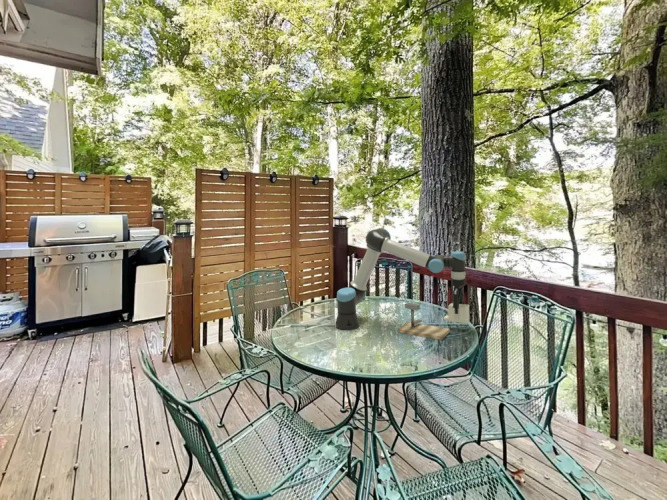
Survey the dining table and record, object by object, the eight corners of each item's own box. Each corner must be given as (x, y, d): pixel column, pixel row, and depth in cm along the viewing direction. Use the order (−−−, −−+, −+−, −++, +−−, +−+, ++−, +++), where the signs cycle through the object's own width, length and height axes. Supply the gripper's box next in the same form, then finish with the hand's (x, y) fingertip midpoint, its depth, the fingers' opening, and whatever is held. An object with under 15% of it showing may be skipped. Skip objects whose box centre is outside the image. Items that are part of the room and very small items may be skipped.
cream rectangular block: (443, 320, 199) (443, 305, 198) (446, 316, 204) (446, 302, 203) (466, 323, 191) (466, 307, 190) (469, 319, 197) (469, 304, 196)
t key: (416, 328, 196) (416, 306, 194) (405, 325, 202) (404, 303, 200) (426, 324, 202) (426, 302, 201) (415, 321, 208) (414, 300, 207)
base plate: (397, 332, 198) (397, 328, 198) (407, 325, 210) (406, 321, 210) (442, 340, 184) (442, 336, 183) (449, 332, 195) (449, 328, 195)
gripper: (460, 282, 184) (460, 323, 187) (469, 275, 200) (469, 313, 203) (446, 281, 188) (447, 321, 191) (456, 274, 205) (456, 311, 207)
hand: (458, 316), depth 197 cm, fingers closed on cream rectangular block, 7 cm apart
